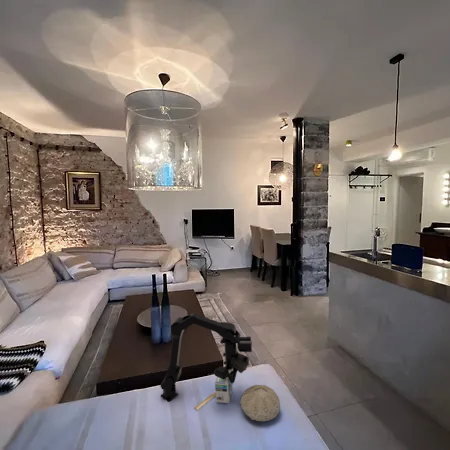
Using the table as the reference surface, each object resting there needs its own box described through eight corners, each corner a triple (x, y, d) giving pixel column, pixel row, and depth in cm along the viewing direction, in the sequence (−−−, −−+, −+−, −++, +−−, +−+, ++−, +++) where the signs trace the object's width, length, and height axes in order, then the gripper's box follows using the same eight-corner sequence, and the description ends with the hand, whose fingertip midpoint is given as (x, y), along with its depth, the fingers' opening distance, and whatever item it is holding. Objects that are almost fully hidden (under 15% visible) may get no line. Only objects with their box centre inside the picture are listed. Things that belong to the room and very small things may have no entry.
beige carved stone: (247, 431, 115) (247, 408, 114) (236, 402, 132) (235, 382, 131) (286, 422, 119) (286, 401, 118) (270, 395, 136) (270, 376, 135)
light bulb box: (229, 403, 130) (228, 382, 129) (215, 402, 131) (214, 381, 130) (232, 389, 140) (231, 368, 140) (220, 388, 141) (219, 368, 141)
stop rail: (194, 408, 128) (194, 407, 128) (229, 381, 148) (229, 380, 148) (197, 410, 127) (197, 409, 127) (232, 382, 146) (232, 381, 146)
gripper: (231, 365, 119) (233, 400, 119) (255, 347, 132) (257, 379, 133) (212, 357, 126) (214, 390, 126) (237, 341, 140) (239, 371, 140)
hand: (232, 382), depth 131 cm, fingers closed
